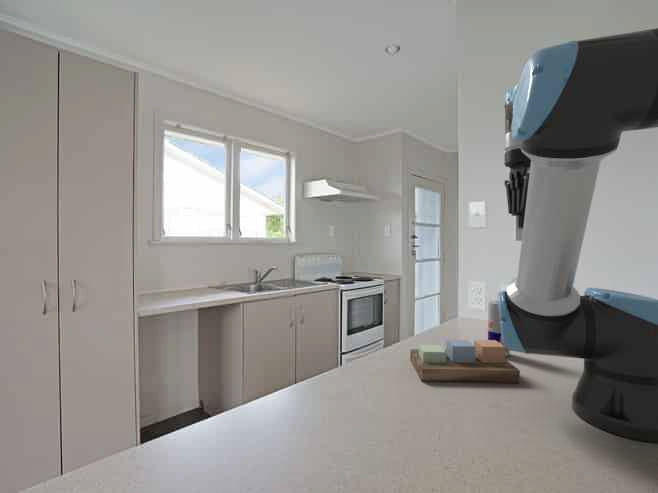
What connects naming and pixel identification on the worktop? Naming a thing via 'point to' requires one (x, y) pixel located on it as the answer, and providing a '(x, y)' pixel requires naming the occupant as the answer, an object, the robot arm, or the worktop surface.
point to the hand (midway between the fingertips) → (519, 240)
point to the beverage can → (495, 324)
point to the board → (464, 371)
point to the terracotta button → (489, 351)
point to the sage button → (432, 354)
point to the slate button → (460, 351)
